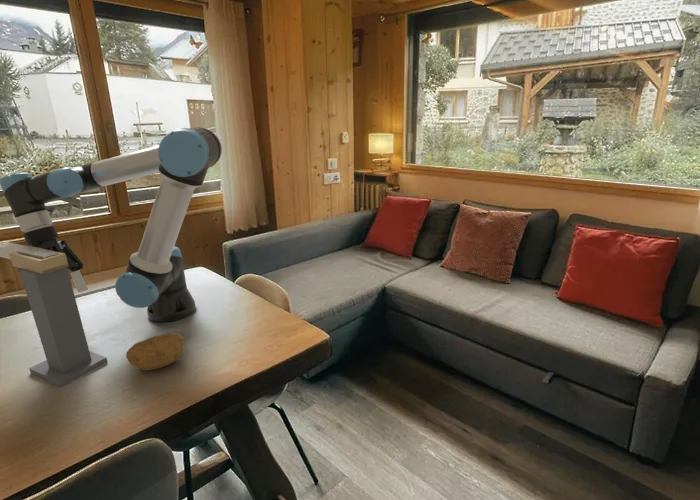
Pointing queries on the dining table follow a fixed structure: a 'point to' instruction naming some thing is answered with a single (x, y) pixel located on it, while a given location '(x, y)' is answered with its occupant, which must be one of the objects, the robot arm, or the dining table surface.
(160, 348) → the potato
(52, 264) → the stand
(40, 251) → the rail
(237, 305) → the dining table surface
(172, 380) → the dining table surface
